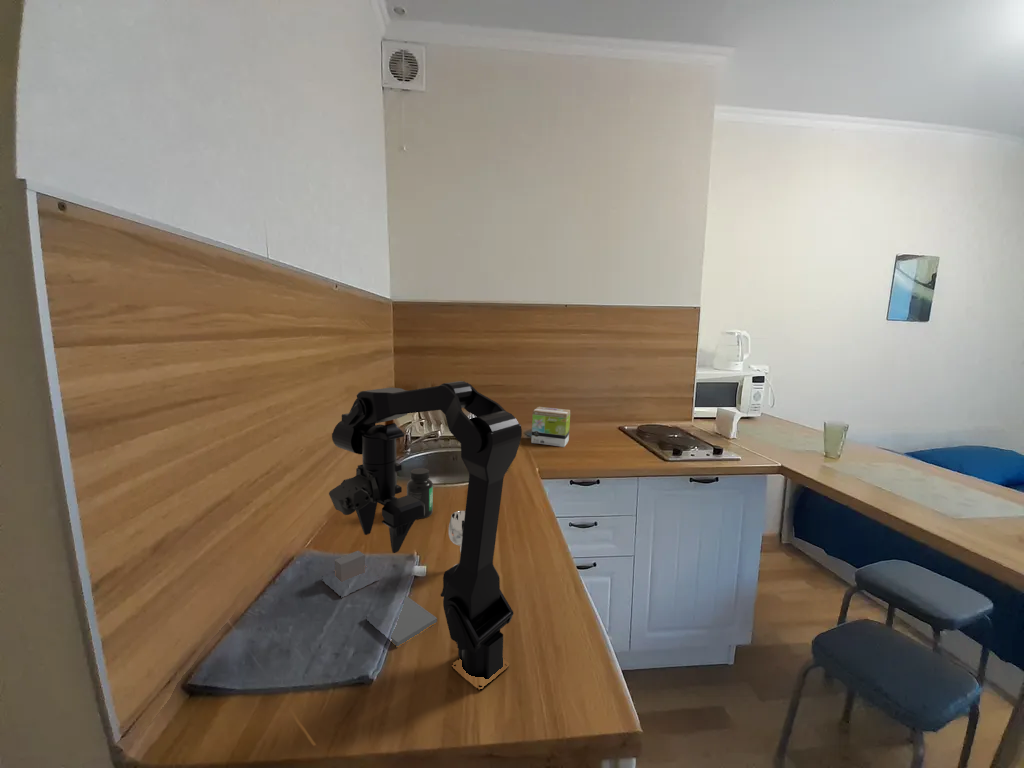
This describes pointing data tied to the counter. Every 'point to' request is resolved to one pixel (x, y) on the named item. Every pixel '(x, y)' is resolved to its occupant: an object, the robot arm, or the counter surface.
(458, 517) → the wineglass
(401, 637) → the panel
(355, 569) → the stub
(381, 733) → the counter surface
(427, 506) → the supplement bottle
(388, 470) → the robot arm
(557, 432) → the tea box
